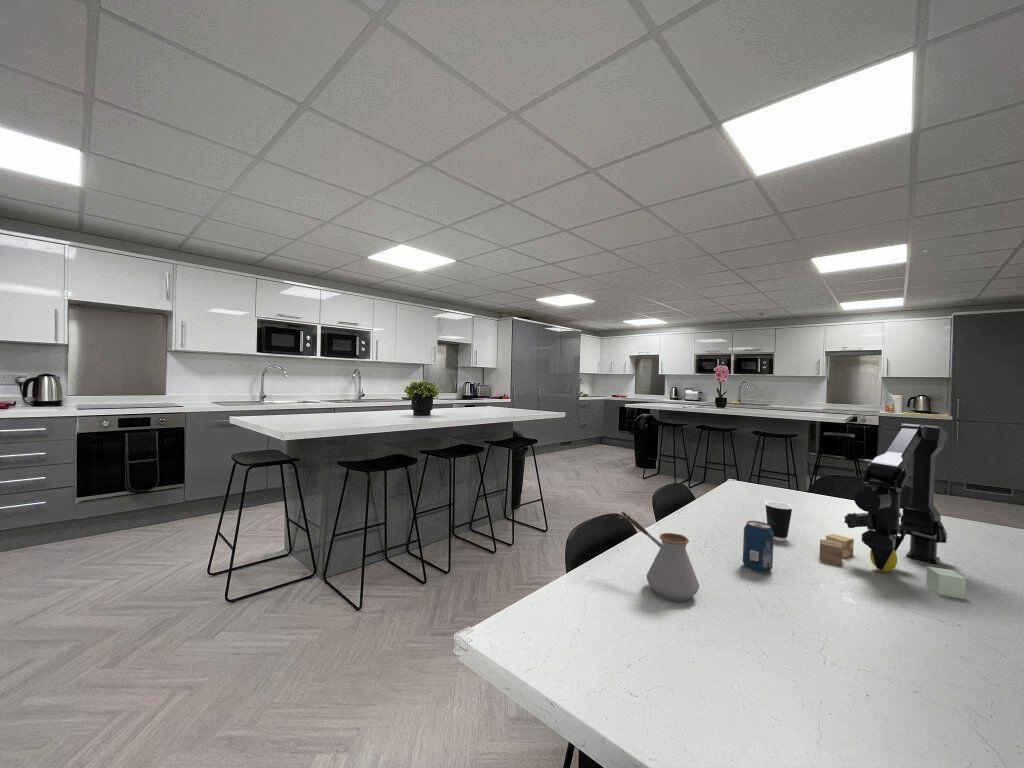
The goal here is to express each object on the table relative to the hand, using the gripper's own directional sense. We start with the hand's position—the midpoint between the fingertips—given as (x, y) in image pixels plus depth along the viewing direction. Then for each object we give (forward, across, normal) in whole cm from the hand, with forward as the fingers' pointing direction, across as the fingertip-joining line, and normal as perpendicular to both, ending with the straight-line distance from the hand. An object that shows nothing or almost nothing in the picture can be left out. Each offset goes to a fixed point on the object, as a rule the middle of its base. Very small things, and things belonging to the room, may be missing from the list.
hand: (883, 565), depth 114 cm
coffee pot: (+2, +60, -32) cm, 68 cm away
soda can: (+2, +28, -21) cm, 35 cm away
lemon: (+2, 0, 0) cm, 2 cm away
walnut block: (+2, +3, -11) cm, 12 cm away
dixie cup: (+2, -4, -27) cm, 27 cm away
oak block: (+2, -6, -11) cm, 13 cm away
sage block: (+2, +2, +12) cm, 12 cm away
